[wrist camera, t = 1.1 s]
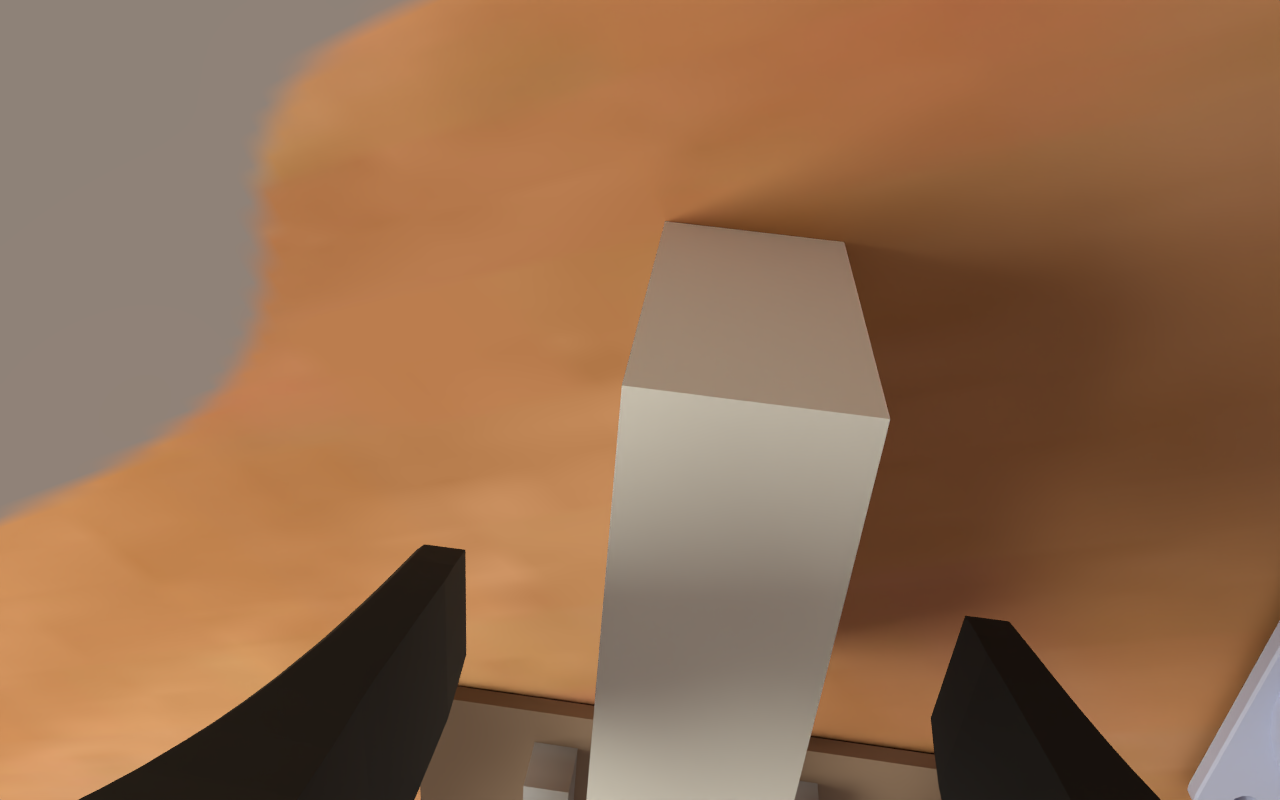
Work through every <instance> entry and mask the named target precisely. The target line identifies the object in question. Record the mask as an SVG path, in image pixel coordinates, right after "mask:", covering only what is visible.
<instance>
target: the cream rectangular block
mask: <svg viewBox="0 0 1280 800" xmlns="http://www.w3.org/2000/svg"><path fill="white" fill-rule="evenodd" d="M889 422H890V416H889V412H888V408H887V405H886V401H885V397H884V393H883V389H882V385H881V382H880V378H879V374H878V370H877V366H876V362H875V358H874V355H873V351H872V347H871V343H870V339H869V335H868V332H867V328H866V324H865V320H864V316H863V312H862V308H861V305H860V301H859V297H858V293H857V289H856V285H855V282H854V278H853V274H852V270H851V266H850V262H849V258H848V255H847V251H846V247H845V243H844V242H840V241H831V240H822V239H814V238H805V237H797V236H788V235H779V234H771V233H762V232H754V231H745V230H736V229H728V228H719V227H711V226H702V225H693V224H685V223H676V222H668V221H665V223H664V227H663V231H662V235H661V239H660V242H659V246H658V250H657V254H656V258H655V262H654V265H653V269H652V273H651V277H650V281H649V284H648V288H647V292H646V296H645V300H644V303H643V307H642V311H641V315H640V319H639V322H638V326H637V330H636V334H635V338H634V342H633V345H632V349H631V353H630V357H629V361H628V364H627V368H626V372H625V376H624V380H623V383H622V391H621V403H620V414H619V426H618V438H617V449H616V461H615V473H614V484H613V496H612V507H611V519H610V531H609V542H608V554H607V566H606V577H605V589H604V601H603V612H602V624H601V636H600V647H599V659H598V671H597V682H596V694H595V706H594V717H593V729H592V741H591V752H590V764H589V776H588V787H587V799H586V800H795V796H796V792H797V788H798V784H799V780H800V776H801V772H802V768H803V764H804V760H805V756H806V752H807V748H808V744H809V740H810V736H811V732H812V728H813V724H814V720H815V716H816V712H817V708H818V704H819V700H820V696H821V692H822V688H823V684H824V681H825V677H826V673H827V669H828V665H829V661H830V657H831V653H832V649H833V645H834V641H835V637H836V633H837V629H838V625H839V621H840V617H841V613H842V609H843V605H844V601H845V597H846V593H847V589H848V585H849V581H850V577H851V573H852V569H853V565H854V561H855V557H856V553H857V549H858V545H859V541H860V538H861V534H862V530H863V526H864V522H865V518H866V514H867V510H868V506H869V502H870V498H871V494H872V490H873V486H874V482H875V478H876V474H877V470H878V466H879V462H880V458H881V454H882V450H883V446H884V442H885V438H886V434H887V430H888V426H889Z"/></svg>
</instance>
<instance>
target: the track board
mask: <svg viewBox="0 0 1280 800" xmlns="http://www.w3.org/2000/svg"><path fill="white" fill-rule="evenodd" d="M593 717H594V706H592V705H585V704H578V703H571V702H564V701H557V700H550V699H543V698H536V697H529V696H522V695H515V694H508V693H501V692H494V691H487V690H480V689H473V688H466V687H459V686H457V689H456V693H455V696H454V700H453V703H452V706H451V710H450V713H449V717H448V720H447V722H446V724H445V727H444V729H443V732H442V734H441V737H440V739H439V742H438V744H437V746H436V749H435V751H434V754H433V756H432V759H431V761H430V763H429V766H428V768H427V771H426V773H425V775H424V778H423V780H422V782H421V785H420V790H421V800H586V799H587V787H588V776H589V764H590V752H591V741H592V729H593ZM795 800H941V795H940V790H939V785H938V777H937V769H936V762H935V755H933V754H926V753H919V752H912V751H905V750H898V749H891V748H884V747H877V746H870V745H863V744H856V743H849V742H842V741H836V740H829V739H822V738H815V737H810V740H809V744H808V748H807V752H806V756H805V760H804V764H803V768H802V772H801V776H800V780H799V784H798V788H797V792H796V796H795Z"/></svg>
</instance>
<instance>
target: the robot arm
mask: <svg viewBox="0 0 1280 800" xmlns="http://www.w3.org/2000/svg"><path fill="white" fill-rule="evenodd" d="M465 657H466V579H465V550H462V549H454V548H447V547H439V546H432V545H423V546H422V547H420V548H419V549H417V550H416V551H415V552H414V553H413V554H412V555H411V556H410V557H409V558H408V559H407V560H406V561H405V562H404V563H403V564H402V565H401V566H400V567H399V568H398V569H397V570H396V571H395V572H394V573H393V574H392V575H391V576H390V577H389V578H388V579H387V580H386V581H385V582H384V583H383V584H382V585H381V586H380V587H379V588H378V589H377V590H376V591H375V592H374V593H373V594H372V595H371V596H370V597H369V598H368V599H366V600H365V601H364V602H363V603H362V604H361V605H360V606H359V607H358V608H357V609H356V610H355V611H353V612H352V613H351V614H350V615H349V616H348V617H347V618H346V619H345V620H344V621H342V622H341V623H340V624H339V625H338V626H337V627H336V628H335V629H334V630H333V631H331V632H330V633H329V634H328V635H327V636H326V637H325V638H323V639H322V640H321V641H320V642H319V643H318V644H316V645H315V646H314V647H313V648H312V649H310V650H309V651H308V652H307V653H305V654H304V655H303V656H302V657H301V658H299V659H298V660H297V661H296V662H294V663H293V664H292V665H291V666H290V667H288V668H287V669H286V670H285V671H283V672H282V673H281V674H280V675H279V676H277V677H276V678H275V679H273V680H272V681H271V682H269V683H268V684H267V685H265V686H264V687H263V688H261V689H260V690H259V691H257V692H256V693H255V694H253V695H252V696H251V697H249V698H248V699H247V700H245V701H244V702H242V703H241V704H240V705H238V706H237V707H235V708H234V709H232V710H231V711H229V712H228V713H227V714H225V715H224V716H222V717H221V718H219V719H218V720H216V721H215V722H213V723H212V724H210V725H209V726H207V727H206V728H204V729H202V730H201V731H199V732H198V733H196V734H195V735H193V736H191V737H190V738H188V739H187V740H185V741H183V742H182V743H180V744H178V745H177V746H175V747H173V748H172V749H170V750H168V751H167V752H165V753H163V754H162V755H160V756H158V757H157V758H155V759H153V760H152V761H150V762H148V763H147V764H145V765H143V766H142V767H140V768H138V769H136V770H134V771H133V772H131V773H129V774H127V775H125V776H123V777H121V778H119V779H118V780H116V781H114V782H112V783H110V784H108V785H106V786H104V787H103V788H101V789H99V790H97V791H95V792H93V793H91V794H89V795H87V796H85V797H83V798H81V799H79V800H414V799H415V797H416V794H417V792H418V790H419V787H420V785H421V782H422V780H423V778H424V775H425V773H426V771H427V768H428V766H429V763H430V761H431V759H432V756H433V754H434V751H435V749H436V746H437V744H438V742H439V739H440V737H441V734H442V732H443V729H444V727H445V724H446V722H447V720H448V717H449V713H450V710H451V706H452V703H453V700H454V696H455V693H456V689H457V686H458V682H459V678H460V675H461V671H462V668H463V664H464V660H465ZM931 724H932V734H933V743H934V753H935V762H936V769H937V777H938V785H939V790H940V795H941V799H942V800H1160V798H1159V797H1158V796H1157V795H1156V794H1155V793H1154V792H1153V791H1152V790H1151V789H1150V788H1149V787H1148V786H1147V785H1146V784H1145V783H1144V781H1143V780H1142V779H1141V778H1140V777H1139V776H1138V775H1137V774H1136V773H1135V772H1134V771H1133V770H1132V769H1131V768H1130V766H1129V765H1128V764H1127V763H1126V762H1125V761H1124V760H1123V759H1122V758H1121V756H1120V755H1119V754H1118V753H1117V752H1116V751H1115V750H1114V749H1113V747H1112V746H1111V745H1110V744H1109V743H1108V742H1107V741H1106V739H1105V738H1104V737H1103V736H1102V735H1101V734H1100V732H1099V731H1098V730H1097V729H1096V728H1095V727H1094V725H1093V724H1092V723H1091V722H1090V721H1089V719H1088V718H1087V717H1086V716H1085V715H1084V714H1083V712H1082V711H1081V710H1080V709H1079V707H1078V706H1077V705H1076V704H1075V703H1074V701H1073V700H1072V699H1071V698H1070V697H1069V695H1068V694H1067V693H1066V692H1065V690H1064V689H1063V688H1062V687H1061V685H1060V684H1059V683H1058V682H1057V680H1056V679H1055V678H1054V677H1053V676H1052V674H1051V673H1050V672H1049V671H1048V669H1047V668H1046V667H1045V666H1044V664H1043V663H1042V662H1041V661H1040V659H1039V658H1038V657H1037V655H1036V654H1035V653H1034V652H1033V650H1032V649H1031V648H1030V647H1029V645H1028V644H1027V643H1026V642H1025V640H1024V639H1023V638H1022V637H1021V635H1020V634H1019V633H1018V632H1017V631H1016V629H1015V628H1014V627H1013V626H1012V625H1011V623H1010V622H1008V621H1001V620H993V619H986V618H978V617H970V616H965V619H964V621H963V624H962V627H961V630H960V633H959V636H958V639H957V642H956V645H955V648H954V651H953V654H952V657H951V660H950V663H949V666H948V669H947V672H946V675H945V678H944V681H943V684H942V687H941V690H940V693H939V695H938V698H937V701H936V704H935V707H934V710H933V713H932V716H931ZM1188 792H1189V795H1190V797H1191V799H1192V800H1280V621H1279V623H1278V625H1277V626H1276V628H1275V630H1274V632H1273V634H1272V635H1271V637H1270V639H1269V641H1268V643H1267V644H1266V646H1265V648H1264V650H1263V652H1262V653H1261V655H1260V657H1259V659H1258V661H1257V662H1256V664H1255V666H1254V668H1253V670H1252V671H1251V673H1250V675H1249V677H1248V679H1247V680H1246V682H1245V684H1244V686H1243V687H1242V689H1241V691H1240V693H1239V695H1238V696H1237V698H1236V700H1235V702H1234V704H1233V705H1232V707H1231V709H1230V711H1229V713H1228V714H1227V716H1226V718H1225V720H1224V722H1223V723H1222V725H1221V727H1220V729H1219V731H1218V732H1217V734H1216V736H1215V738H1214V740H1213V741H1212V743H1211V745H1210V747H1209V749H1208V750H1207V752H1206V754H1205V756H1204V758H1203V759H1202V761H1201V763H1200V765H1199V767H1198V768H1197V770H1196V772H1195V774H1194V776H1193V777H1192V779H1191V781H1190V783H1189V786H1188Z"/></svg>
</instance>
